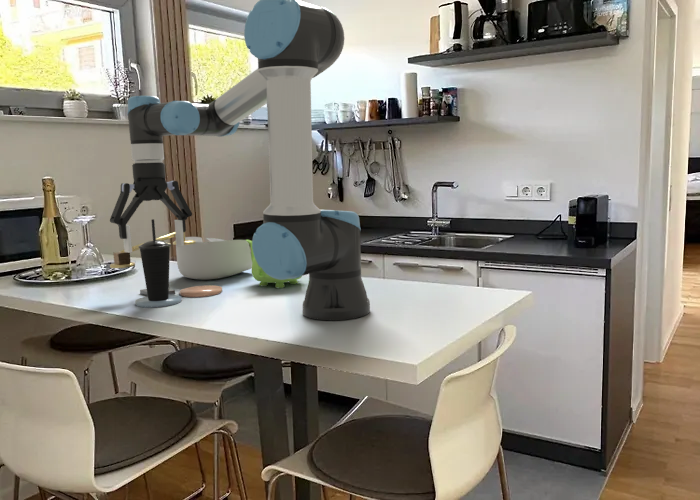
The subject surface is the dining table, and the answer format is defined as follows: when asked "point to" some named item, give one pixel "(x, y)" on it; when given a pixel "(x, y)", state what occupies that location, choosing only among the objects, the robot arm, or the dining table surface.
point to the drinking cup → (156, 267)
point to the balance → (124, 257)
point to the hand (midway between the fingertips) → (154, 248)
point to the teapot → (265, 278)
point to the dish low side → (150, 304)
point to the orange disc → (200, 291)
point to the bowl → (213, 258)
